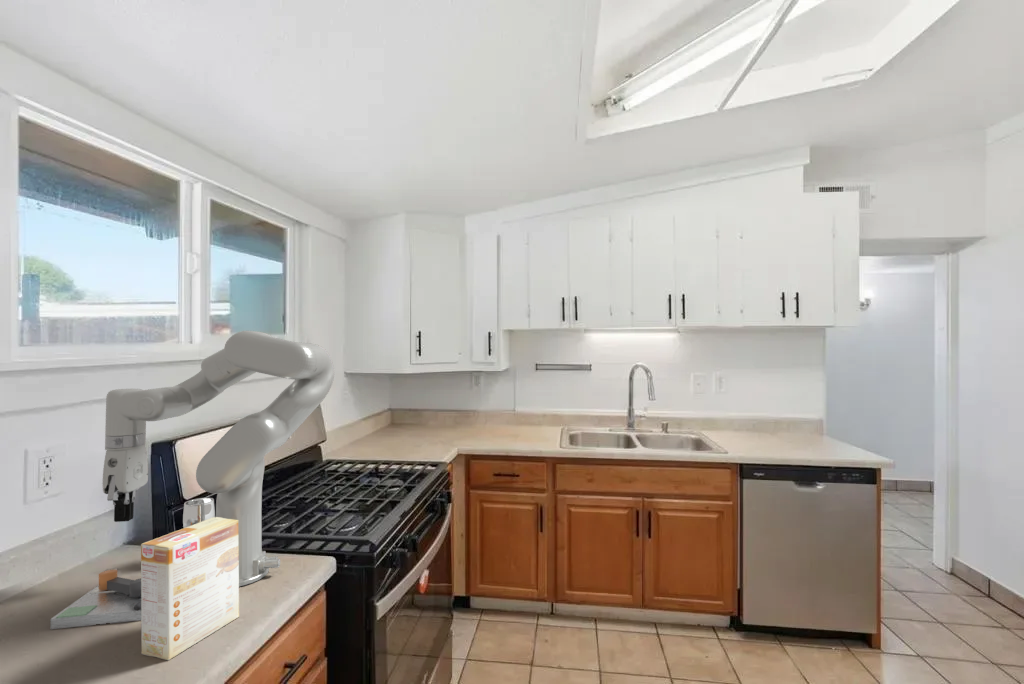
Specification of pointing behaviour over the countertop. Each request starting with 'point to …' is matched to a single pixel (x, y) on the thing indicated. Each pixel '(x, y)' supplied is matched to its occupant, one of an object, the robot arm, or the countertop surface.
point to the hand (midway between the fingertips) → (123, 520)
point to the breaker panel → (98, 609)
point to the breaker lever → (119, 583)
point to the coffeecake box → (188, 586)
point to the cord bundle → (137, 606)
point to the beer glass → (198, 511)
